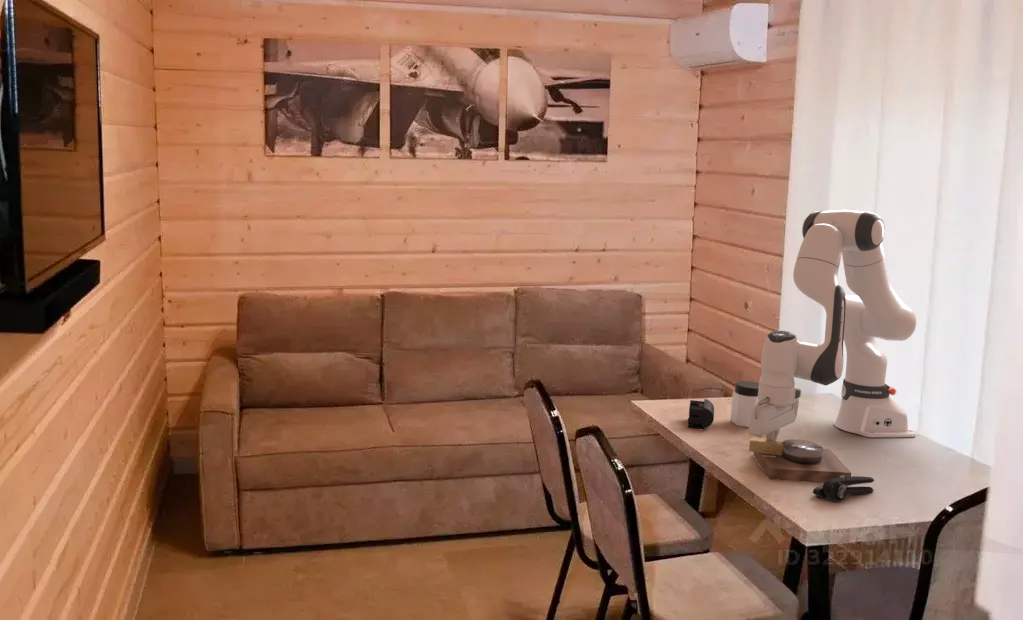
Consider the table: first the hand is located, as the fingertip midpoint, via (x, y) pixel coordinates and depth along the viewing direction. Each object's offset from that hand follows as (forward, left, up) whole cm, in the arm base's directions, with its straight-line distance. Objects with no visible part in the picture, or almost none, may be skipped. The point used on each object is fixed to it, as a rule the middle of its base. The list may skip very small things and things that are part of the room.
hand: (770, 445), depth 247 cm
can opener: (-14, +21, -5) cm, 26 cm away
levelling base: (-7, +4, -5) cm, 9 cm away
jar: (-1, -34, -5) cm, 34 cm away
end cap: (+13, -30, -5) cm, 33 cm away
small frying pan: (-3, +3, -1) cm, 5 cm away
